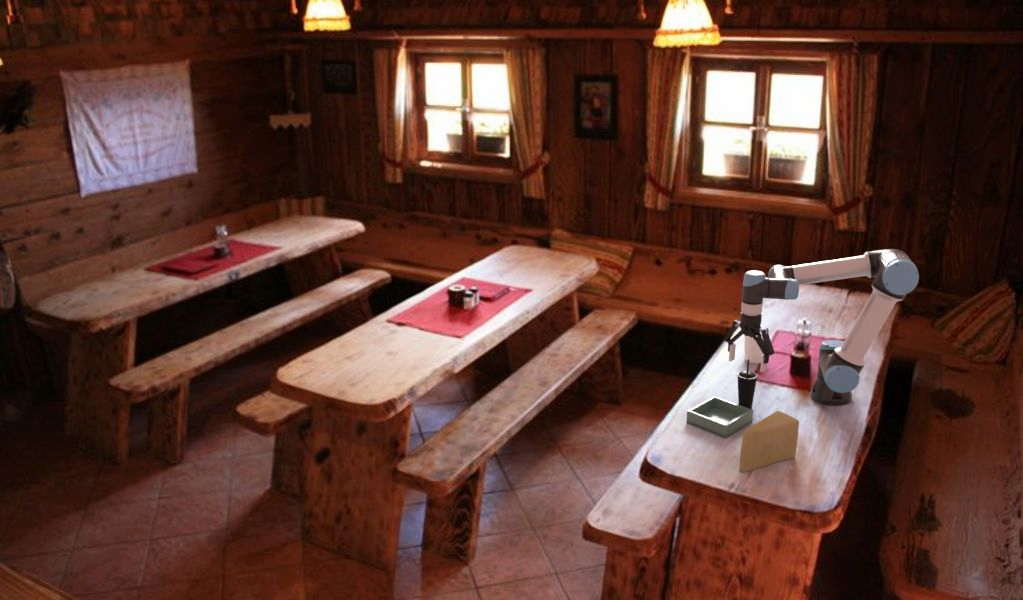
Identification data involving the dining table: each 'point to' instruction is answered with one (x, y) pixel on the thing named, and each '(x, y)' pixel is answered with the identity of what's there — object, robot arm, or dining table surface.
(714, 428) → the grey-green shallow box
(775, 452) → the cheese
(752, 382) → the drinking cup
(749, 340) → the white cup
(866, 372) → the dining table surface
